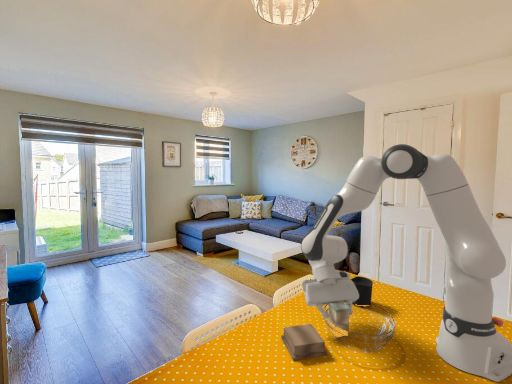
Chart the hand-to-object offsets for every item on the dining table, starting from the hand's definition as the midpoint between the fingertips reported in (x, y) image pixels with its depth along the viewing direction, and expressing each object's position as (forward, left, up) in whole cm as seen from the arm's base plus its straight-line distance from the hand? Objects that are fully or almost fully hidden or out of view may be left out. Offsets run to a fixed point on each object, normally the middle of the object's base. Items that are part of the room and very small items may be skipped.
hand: (338, 316), depth 93 cm
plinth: (+15, +4, -6) cm, 17 cm away
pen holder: (-21, -18, -6) cm, 28 cm away
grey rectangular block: (0, 0, -6) cm, 6 cm away
